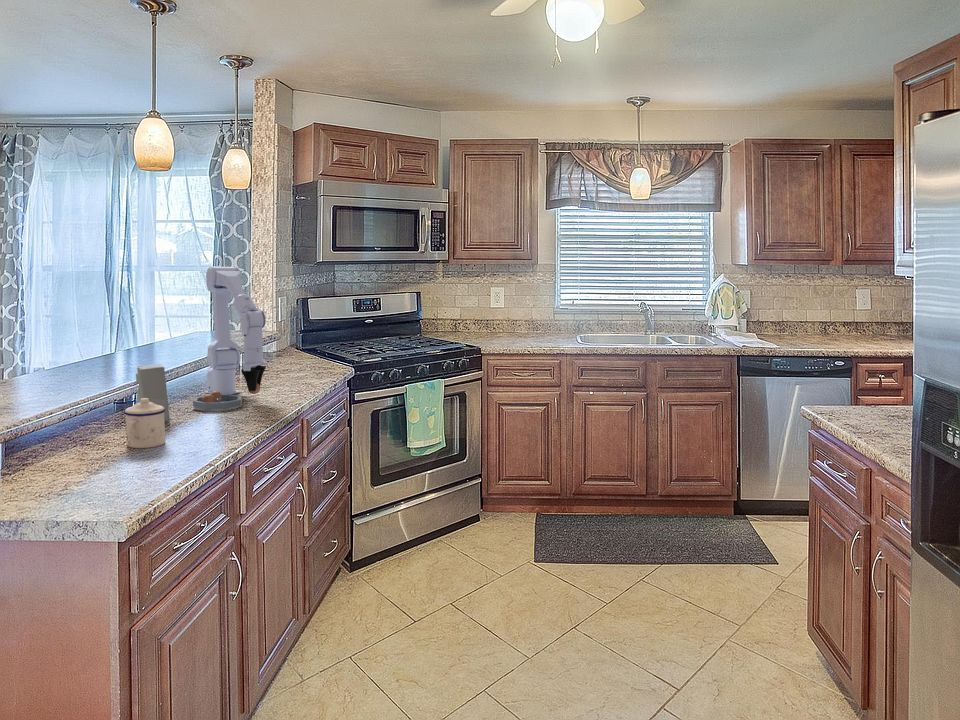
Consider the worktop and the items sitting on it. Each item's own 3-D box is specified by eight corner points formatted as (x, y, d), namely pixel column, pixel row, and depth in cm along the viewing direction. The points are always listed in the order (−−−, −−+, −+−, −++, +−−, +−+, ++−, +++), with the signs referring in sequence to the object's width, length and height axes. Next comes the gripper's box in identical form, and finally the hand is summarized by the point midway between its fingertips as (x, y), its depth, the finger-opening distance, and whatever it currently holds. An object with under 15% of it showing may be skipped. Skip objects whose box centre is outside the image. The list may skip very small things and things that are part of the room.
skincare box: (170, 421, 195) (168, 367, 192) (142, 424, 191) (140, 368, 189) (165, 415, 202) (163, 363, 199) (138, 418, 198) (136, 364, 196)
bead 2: (245, 394, 220) (245, 382, 220) (254, 392, 223) (254, 380, 223) (253, 395, 218) (253, 383, 218) (262, 393, 222) (262, 382, 221)
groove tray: (184, 407, 213) (184, 399, 213) (220, 400, 225) (220, 392, 225) (215, 413, 206) (214, 405, 206) (250, 405, 219) (250, 397, 218)
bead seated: (199, 406, 212) (199, 394, 211) (209, 404, 215) (209, 392, 215) (207, 407, 210) (207, 395, 210) (217, 405, 213) (217, 393, 213)
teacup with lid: (139, 438, 176) (137, 394, 174) (173, 440, 175) (171, 395, 173) (110, 451, 164) (108, 403, 162) (147, 453, 163) (144, 405, 161)
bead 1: (207, 403, 218) (206, 391, 217) (216, 400, 221) (215, 389, 220) (215, 404, 216) (214, 392, 215) (225, 401, 219) (223, 390, 218)
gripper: (259, 351, 212) (259, 394, 214) (272, 345, 226) (272, 385, 228) (236, 350, 211) (237, 393, 213) (250, 345, 226) (251, 385, 228)
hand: (254, 389), depth 221 cm, fingers closed on bead 2, 4 cm apart
